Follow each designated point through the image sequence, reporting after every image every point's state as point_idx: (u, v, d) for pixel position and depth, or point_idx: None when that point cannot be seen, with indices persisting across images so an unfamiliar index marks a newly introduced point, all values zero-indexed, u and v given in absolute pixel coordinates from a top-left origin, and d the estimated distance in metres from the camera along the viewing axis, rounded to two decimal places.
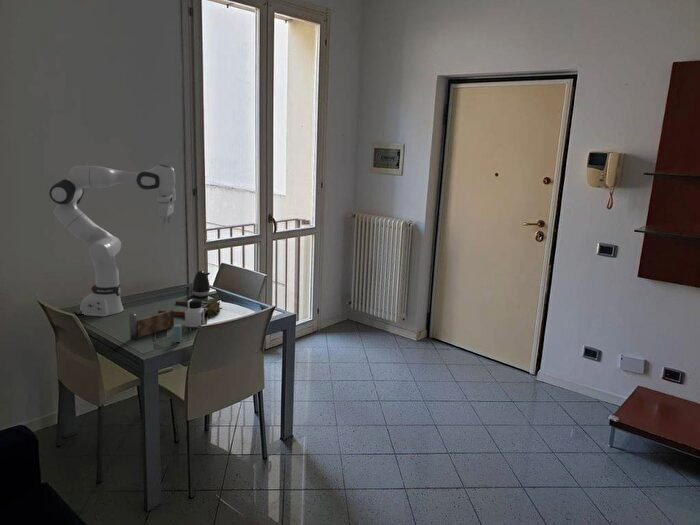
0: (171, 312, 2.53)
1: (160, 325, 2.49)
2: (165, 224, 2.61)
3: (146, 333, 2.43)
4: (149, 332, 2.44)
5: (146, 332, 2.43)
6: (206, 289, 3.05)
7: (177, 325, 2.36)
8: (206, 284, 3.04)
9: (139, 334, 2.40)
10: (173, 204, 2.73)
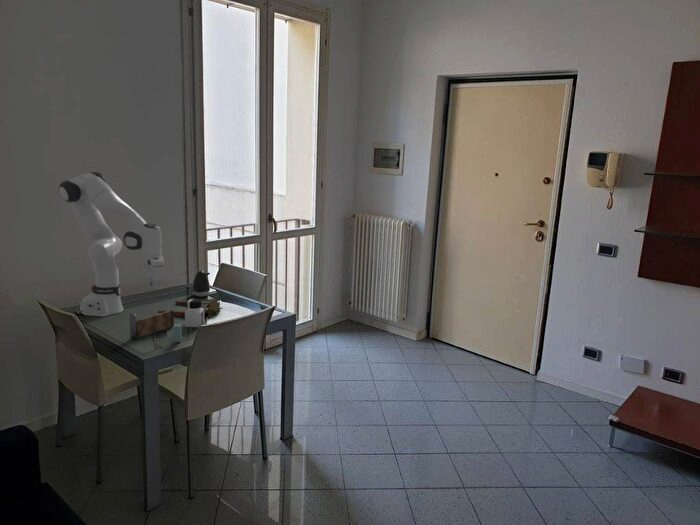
0: (171, 312, 2.53)
1: (160, 325, 2.49)
2: (155, 286, 2.47)
3: (146, 333, 2.43)
4: (149, 332, 2.44)
5: (146, 332, 2.43)
6: (206, 289, 3.05)
7: (177, 325, 2.36)
8: (206, 284, 3.04)
9: (139, 334, 2.40)
10: None
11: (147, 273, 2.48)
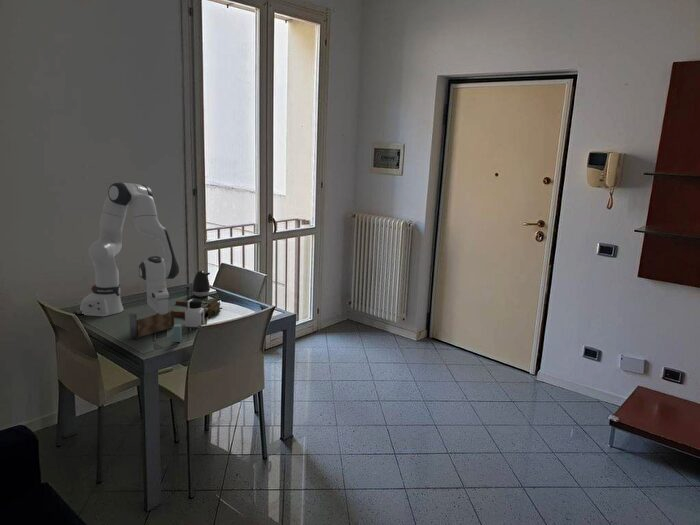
0: (171, 312, 2.53)
1: (160, 325, 2.49)
2: None
3: (146, 333, 2.43)
4: (149, 332, 2.44)
5: (146, 332, 2.43)
6: (206, 289, 3.05)
7: (177, 325, 2.36)
8: (206, 284, 3.04)
9: (139, 334, 2.39)
10: None
11: (151, 305, 2.50)
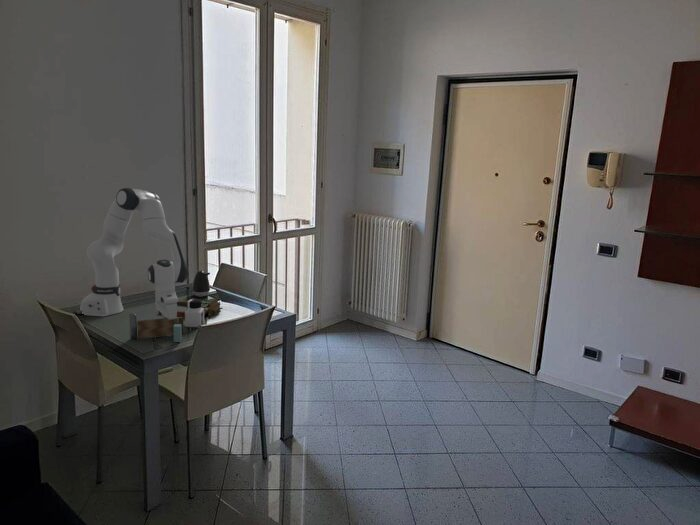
0: (180, 319, 2.45)
1: (166, 330, 2.43)
2: None
3: (148, 335, 2.40)
4: (152, 335, 2.41)
5: (148, 334, 2.40)
6: (206, 289, 3.05)
7: (177, 325, 2.36)
8: (206, 284, 3.04)
9: (139, 335, 2.38)
10: None
11: (160, 309, 2.45)
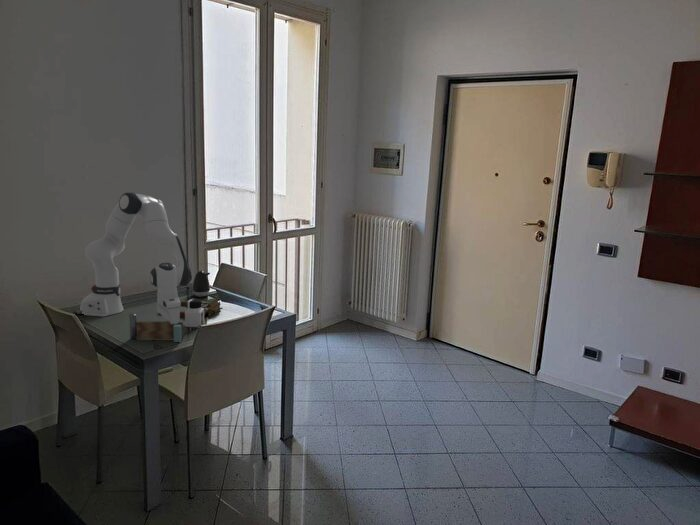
0: None
1: (165, 334, 2.39)
2: None
3: (147, 337, 2.38)
4: (151, 337, 2.38)
5: (147, 336, 2.38)
6: (206, 289, 3.05)
7: (177, 325, 2.36)
8: (206, 284, 3.04)
9: (138, 336, 2.37)
10: None
11: (162, 313, 2.40)
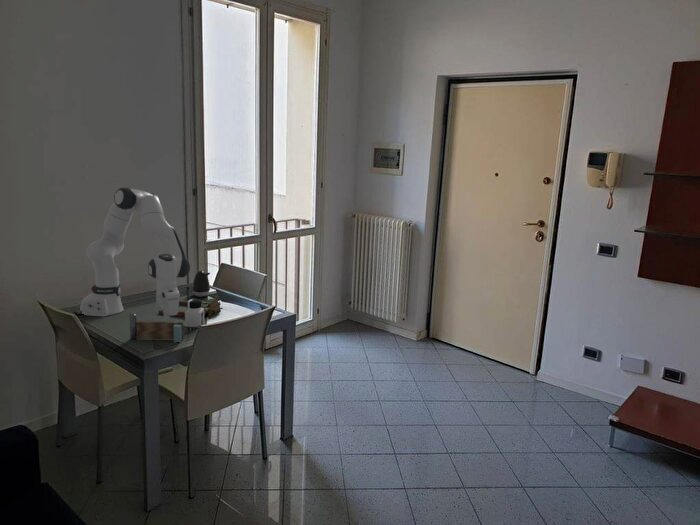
0: None
1: (165, 334, 2.39)
2: (168, 318, 2.39)
3: (147, 337, 2.38)
4: (151, 337, 2.38)
5: (147, 336, 2.38)
6: (206, 289, 3.05)
7: (177, 325, 2.36)
8: (206, 284, 3.04)
9: (138, 336, 2.37)
10: None
11: (161, 304, 2.39)
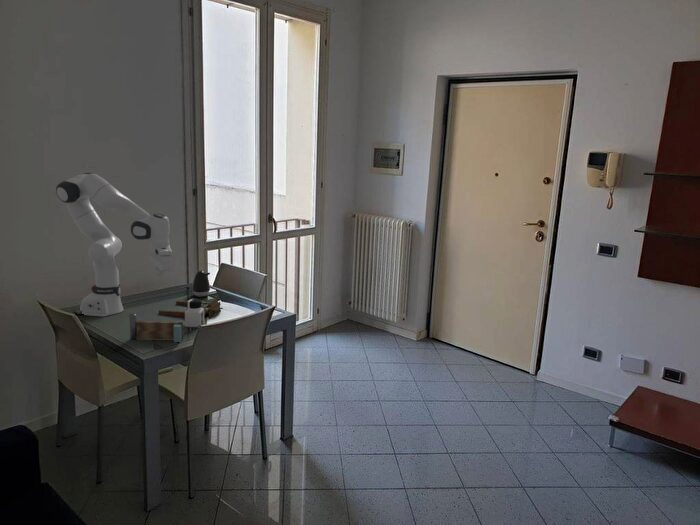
0: None
1: (165, 334, 2.39)
2: (161, 275, 2.52)
3: (147, 337, 2.38)
4: (151, 337, 2.38)
5: (147, 336, 2.38)
6: (206, 289, 3.05)
7: (177, 325, 2.36)
8: (206, 284, 3.04)
9: (138, 336, 2.37)
10: None
11: (154, 262, 2.52)
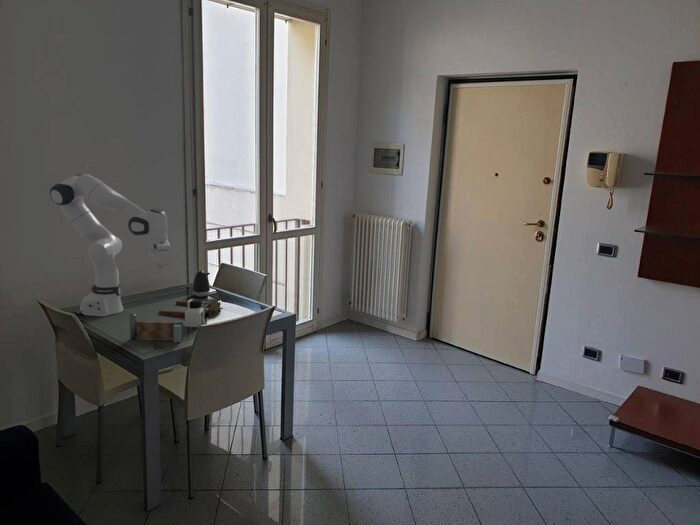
0: None
1: (165, 334, 2.39)
2: (160, 270, 2.53)
3: (147, 337, 2.38)
4: (151, 337, 2.38)
5: (147, 336, 2.38)
6: (206, 289, 3.05)
7: (177, 325, 2.36)
8: (206, 284, 3.04)
9: (138, 336, 2.37)
10: None
11: (153, 257, 2.54)
